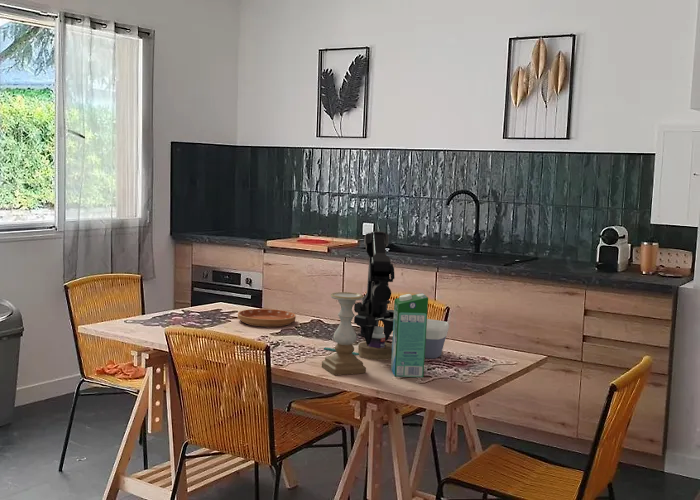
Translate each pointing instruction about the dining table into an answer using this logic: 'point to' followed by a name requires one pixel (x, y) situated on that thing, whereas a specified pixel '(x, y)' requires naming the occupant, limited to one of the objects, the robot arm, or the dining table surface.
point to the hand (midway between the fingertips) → (376, 342)
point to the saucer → (266, 317)
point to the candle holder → (344, 339)
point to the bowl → (435, 337)
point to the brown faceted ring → (375, 351)
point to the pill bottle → (378, 338)
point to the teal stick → (335, 351)
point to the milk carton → (409, 335)
